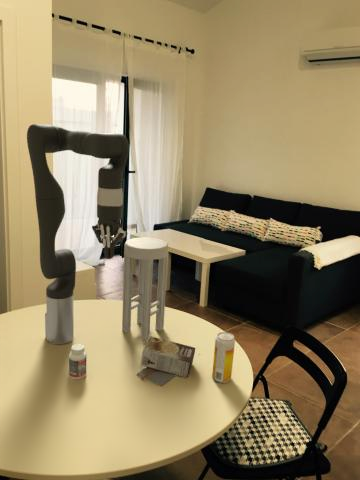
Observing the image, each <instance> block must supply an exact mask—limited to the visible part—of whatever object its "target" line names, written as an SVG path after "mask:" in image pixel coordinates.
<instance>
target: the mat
mask: <svg viewBox="0 0 360 480" xmlns="http://www.w3.org/2000/svg"><path fill="white" fill-rule="evenodd" d="M150 369H151V368H150V367H147V366H145V367H144V368H143V369H141V370H140V371H138V372H136V375H137V376H139V377H141V375H142V374H144V373H145V372H147V371H148V370H150ZM175 377H177V375H176V374H172V373H169V372H165V371H161V370H158V369H157V370H156V371H154V372H153V373H151V374H150V375H148V376H147V377H145V379H144V380H147V381H149V382H152V383H153V384H156V385H158V386H160V387H163V386H164V385H166V384H167V383H168V382H170V381H171V380H172V379H174V378H175Z"/></svg>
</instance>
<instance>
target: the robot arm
mask: <svg viewBox="0 0 360 480" xmlns="http://www.w3.org/2000/svg"><path fill="white" fill-rule="evenodd" d="M26 144H27V149H28V155H29V160H30V164H31V169H32V176H33V185H34V197H35V205H36V206H35V207H36V214H37V221H38V222H37V223H38V231H39V232H38V233H39V263H40V269H41V273H42V276H43V277H44V278H45V279H47V280H53V281H51V283H49V284H48V285H47V287H46V290H45V293H46V296H45V299H46V300H45V301H46V312H45V314H44V324H45V325H44V329H45V330H44V331H45V338H46V340H47V341H48V343H50V344H53V345H65V344H68V343H70V342H72V341H73V340H74V338H75V337H74V332H75V331H74V327H75V326H74V290H75V287H76V273H77V271H76V270H77V262H76V257H75V255H74V253H73V251H72V250H71V249H70V248H69V249H68V248H61V249H57V250H56V246H55V244H56V237H57V233H58V230H59V228H60V226H61V225H62V222H63V220H64V218H65V214H66V204H65V194H64V190H63V188H62V187H61V185H60V184H59V182H58V181H57V179H56V178H55V176H54V175H53V173H52V171H51V170H50V168H49V165H48V161H47V155H46V154H55V153H59V152H65V151H71V152H73V153H75V154H78V155H81V156H82V155H85V156H88V157H89V156H91V157H93V158H97V159H107V160H108V163H107V164H106V165H103V166H102V167H100V168H99V170H98V174H97V179H98V180H97V194H96V195H97V196H96V218H97V219H98V220H97V223H96V224H94V225H92V226H91V229H92V231H93V233H94V234H95V235H94V236H95V237H96V239H97V241H98V242H99V244H102V245H103V255H104V258H105V259H107V260H111V259H113V257H114V255H115V247H117V246H120V245H121V244H122V242H124V240H125V239H126V237H127V236H128V232H127V231H124V230H123V228H122V227H123V226H122V218H123V207H124V206H123V204H124V203H123V202H124V201H123V200H124V194H123V193H124V192H123V174H124V171H125V167H126V164H127V161H128V157H129V153H130V152H129V151H130V145H129V141H128V138H127V137H126V136H125V135H124V134H123V133H116V132H115V133H112V132H111V133H109V132H108V133H107V132H105V133H102V132H101V133H100V132H99V133H98V132H94V131H87V130H71V129H70V130H69V129H66V128H63V127H61V126H58V125H55V124H43V123H42V124H41V123H32V124H30V125H29V126H28V128H27V132H26Z"/></svg>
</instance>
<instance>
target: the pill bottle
mask: <svg viewBox="0 0 360 480" xmlns="http://www.w3.org/2000/svg"><path fill="white" fill-rule="evenodd" d="M86 375H87V352H86V351H85V346H84V345H83V344H80V343H75V344H73V345H72V346H71V348H70V353H69V354H68V376H69V377H70V378H71V379H73V380H79V379H80V380H81V379H82V378H83V379H84V377H86Z"/></svg>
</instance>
